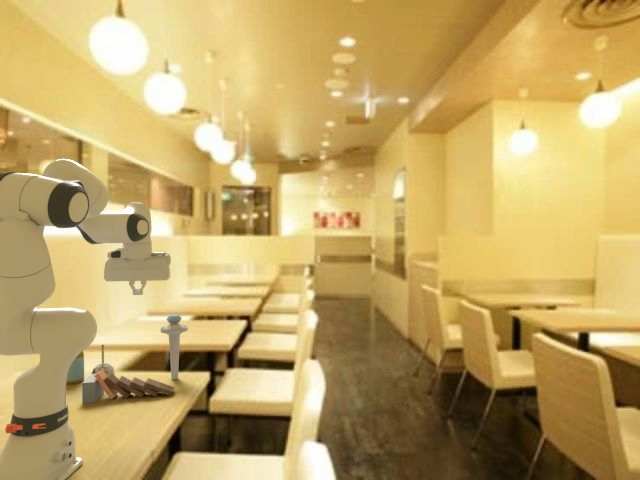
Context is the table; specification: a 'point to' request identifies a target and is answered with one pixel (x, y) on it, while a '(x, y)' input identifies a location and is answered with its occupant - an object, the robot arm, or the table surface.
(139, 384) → the domino
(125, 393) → the domino
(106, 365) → the decorative ornament
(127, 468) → the table surface
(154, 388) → the domino
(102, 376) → the domino
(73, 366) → the bottle
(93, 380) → the end block
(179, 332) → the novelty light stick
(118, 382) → the domino
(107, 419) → the table surface
